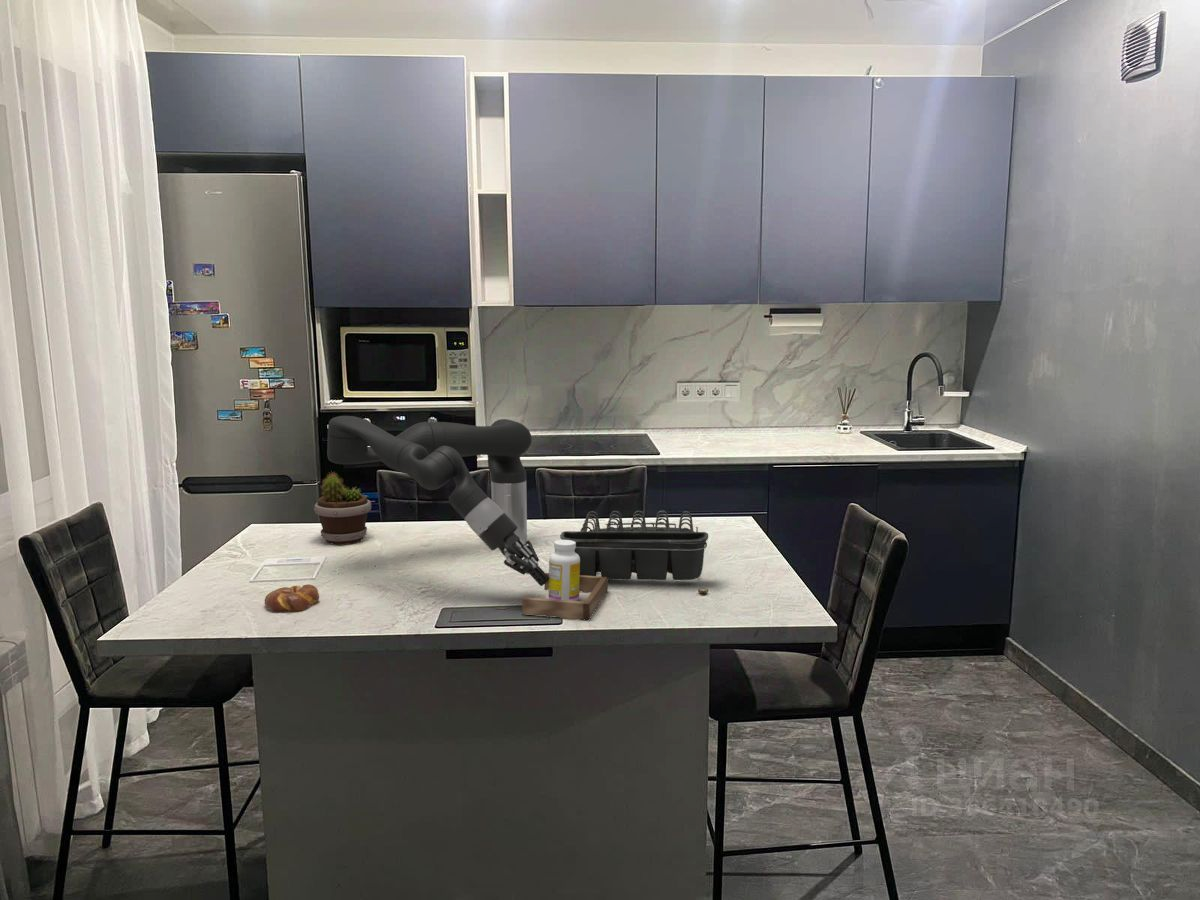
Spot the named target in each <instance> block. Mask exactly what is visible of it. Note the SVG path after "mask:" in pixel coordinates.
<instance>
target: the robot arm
mask: <svg viewBox="0 0 1200 900" xmlns="http://www.w3.org/2000/svg"><path fill="white" fill-rule="evenodd" d="M532 442H533V441H532V433H531V431H530V430H529V429H528V428H527V426H525V425H524V424H522V423H521V422H519V421H515V420H511V419H509V418H502V419H498V420H496V421H494V422H492V423H491V425H483V426H482V425H480V426H479V425H472V424H465V423H460V422H459V423H457V422H447V421H427V422H426V421H423V422H421V421H420V422H418V423H415V424H413V425H411V426H409V427H408V428H406V429H405V430H404V431H402V432H400V433H399V434H397V435H396V436H394V435H393V434H391V433H389V432H388V431H386V430H385V429H382V428H381V427H379V426H377V425H376V424H373V423H371V421H368V420H366V419H364V418H361V417H359V416H353V415H351V416H350V415H339V416H335V417H332V418H331V419H330V420H329V422H328V427H327V443H326V444H327V450H326V454H327V459H328V461H330V462H331V463H334V464H336V465H358V464H359V465H360V464H369V463H370V464H371V463H378V462H382V463H383V464H384V465H385V466H386V467H388V468H390V469H392V470H394V471H397V472H401V473H403V474H405V475H408V476H409V477H410V478H411V479H413V480H414V481H416V483H417V484H418V485H419V486H421V487H422V488H423V489H425V490H430V491H432V490H433V491H434V490H438V489H440V488H441V487H444V486H445V484H447V483H448V482H449V481H450V480H451V479H452V480H453V481H454V483H455V488H454V489H453V491H452V492H451V493H450V495H449V496H448V503H449V505H451V506H452V508H453V509H454V510H455V511H456V512H457V514H459V515H460V516H461V518H462V519H464V521H465V522H466V523H467V525H468V526H469V528H470V529H471V530H472V531H473V532H474V533H475V535H477V536H478V537H479V539H480V540H481V541H482V542H483V543H484V544H485V545H486V546H487V547H488V549H489V550H491V551H495V550H497V549H499V550H500V553H501V554H502V555H503V556H504V557H505V560H504V561H503V564H504V565H505V566H507V567H508V568H511V570H514V571H516V572H518V573H519V574H521V575H525V574H526V575H530V577H532V578H533V580H534V581H535V582H536V583H537V584H538V585H539V586H540V587H543V586H545V583H546V582H547V581H548V580H549V577H548V576H547V574H546V573H547V572H545V571H544V570H543V569H542V567H540V566H539V565H540V564H539V561H540V559H539V556H538V555H537V553H536V550H535V549H534V546H533V544H532V543H531V541H530V540H528V522H527V521H528V520H527V519H528V513H527V512H528V509H527V507H528V505H527V500H528V499H527V498H528V496H527V470H526V469H525V467H524V466H523V464H522V461H521V455H523V454H524V453H526V452H527V451H528V450H529V448H530V447H531V444H532ZM471 456H487V465H488V466H487V467H488V470H489V473H490V479H491V481H490V483H491V484H490V486H491V498H490V497H489V496H488V495H487V494H486V493H485V492H484V490H483V489H482V488H481V487H480V486H478V483H476V481H475V480H474V478H473V476H472V474H471V473H470V471H469V468H468V467H467V465H466V463H465V461H464V458H463V457H471Z"/></svg>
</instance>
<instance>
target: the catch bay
mask: <svg viewBox="0 0 1200 900" xmlns="http://www.w3.org/2000/svg"><path fill="white" fill-rule="evenodd" d="M545 573H546V574H547V576H548V577H549V572H545ZM608 580H609V579H608V577H601V575H600V576H599V575H598V576H597V575H596V576H586V575H580V581H579V591H585V592H584V593H588V592H591V593H589V594H588V596H587V597H586V599H585V600H584V601H580V600H578V601H568V600H555V599H549V598H539V597H527V596H523V597H522V598H521V615H522V614H529V615H531V614H532V615H546V616H556V617H561V618H560V619H563V618H567V619H566V620H575V619H585V620H584V621H588V620H589V619H591V618H592V617H593V615H594V613H595V612H596V610H597V609H598V607H599V606H600V604H601V603H600V602H602V601H603V600H604V598H605V597H604V596H606V595H607V594H608ZM547 589H549V580H548V581H547V582H546V583H545V584H544V590H547ZM606 593H607V594H606ZM605 594H606V595H605ZM603 597H604V598H603ZM602 599H603V600H602ZM601 600H602V601H601ZM599 603H600V604H599ZM598 605H599V606H598ZM597 606H598V607H597ZM596 608H597V609H596ZM595 609H596V610H595ZM594 611H595V612H594ZM593 612H594V613H593ZM592 614H593V615H592ZM591 616H592V617H591ZM590 617H591V618H590ZM589 621H590V620H589Z"/></svg>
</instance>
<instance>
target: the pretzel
mask: <svg viewBox="0 0 1200 900" xmlns="http://www.w3.org/2000/svg"><path fill="white" fill-rule="evenodd" d="M318 601H320V593H319V590H318V588H317V587H316V586H315V585H312V584H303V585H302V586H301V585H292V586H290V587H287V586H286V587H279V588H277V589H275V590H272V591H271V592H269V593H268V594H266V596H265V598H264V605H265V607H266V608H267V609H268V610H269V611H272V612H275V613H286V612H301V611H305V610H306V609H309V608H310V606H314V604H316V603H318Z"/></svg>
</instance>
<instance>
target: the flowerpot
mask: <svg viewBox="0 0 1200 900" xmlns="http://www.w3.org/2000/svg"><path fill="white" fill-rule="evenodd" d="M330 471H331V473H330V472H329V474H327V475H326V478H324V479H323V480H322V481H321V482H320V483H322V485H321V487H320V488H321V493H320V494H321V495H322V496H321V497H319V498H318V499H317V502H316V503H315V504H314V508H313V509H314V510H313V512H314V514H316V515H318V518H319V522H320V525H321V528H322V529H321V530H320V537H321V538H322V539H323V540H324V541H325V542H326V543H327V544H330V545H337V546H339V545H340V546H341V545H342V546H343V545H353V544H358V543H359V542H361V541H363V539H364V538H365V536H366V535H367V532H368V531H367V530H368V527H367V526H366V524H367V523H366V522H367V519H368V513H369V512H370V511H372V510H371V509H372V502H371V500H369V499H367V496H366V495H365V494H362V493H361V488H357V486H355V487H353V488H351V489H350V486H346V485H345V484H343V479H342V477H341V476H339V477H340V478H339V477H338V475H337V472H336V471H333V472H332V470H330ZM356 488H357V489H356Z"/></svg>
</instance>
